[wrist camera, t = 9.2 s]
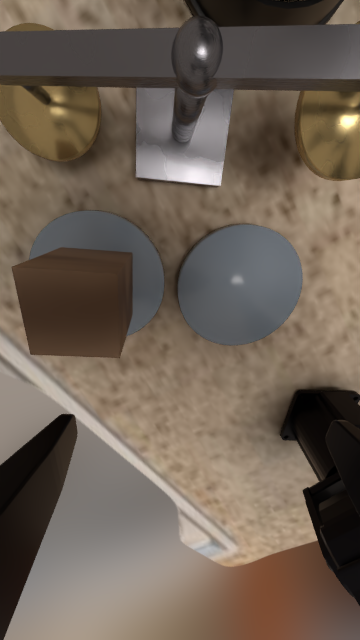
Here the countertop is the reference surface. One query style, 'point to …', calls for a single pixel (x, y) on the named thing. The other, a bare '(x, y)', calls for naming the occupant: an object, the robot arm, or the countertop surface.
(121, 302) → the walnut block
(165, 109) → the balance
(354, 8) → the countertop surface
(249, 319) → the plate
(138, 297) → the plate
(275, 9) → the french press
